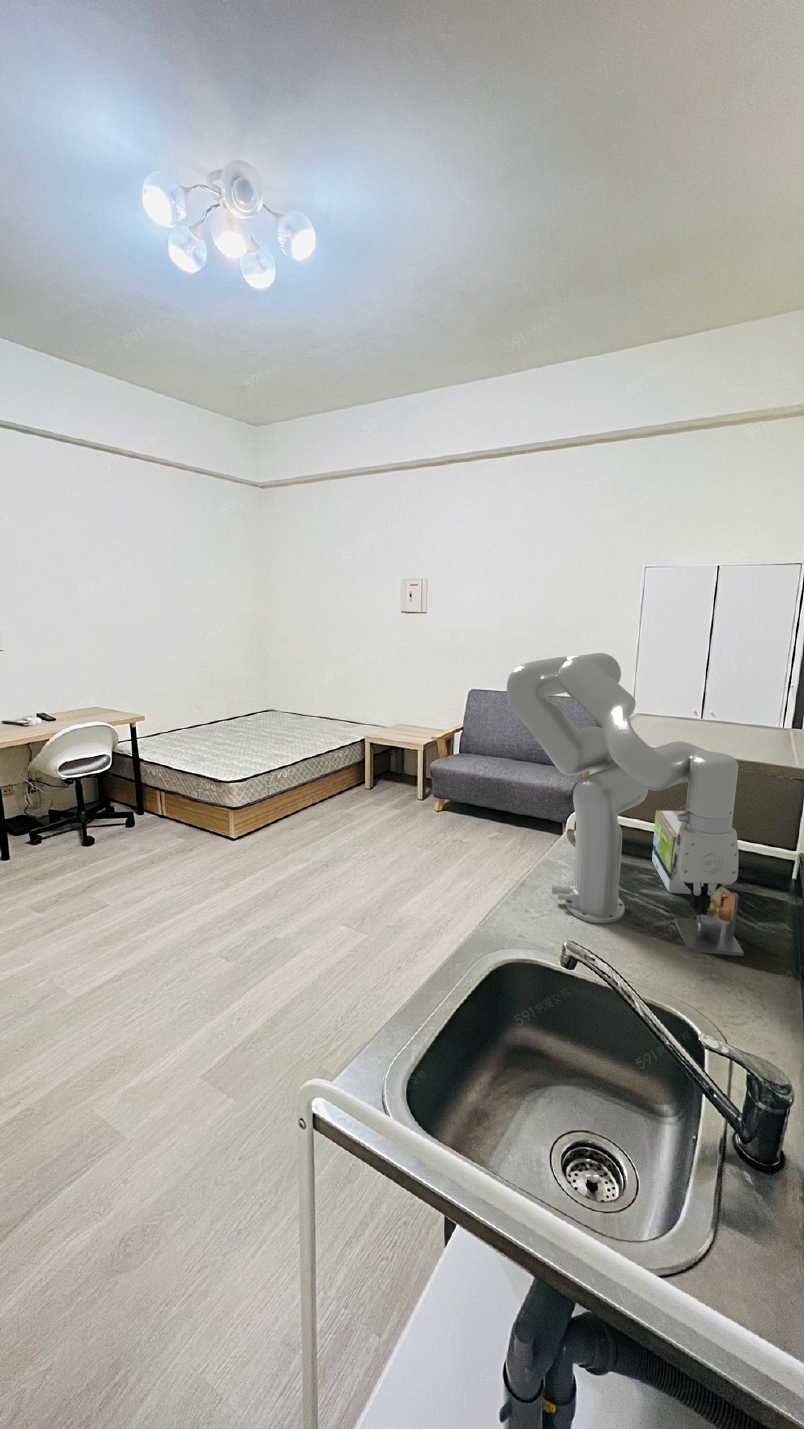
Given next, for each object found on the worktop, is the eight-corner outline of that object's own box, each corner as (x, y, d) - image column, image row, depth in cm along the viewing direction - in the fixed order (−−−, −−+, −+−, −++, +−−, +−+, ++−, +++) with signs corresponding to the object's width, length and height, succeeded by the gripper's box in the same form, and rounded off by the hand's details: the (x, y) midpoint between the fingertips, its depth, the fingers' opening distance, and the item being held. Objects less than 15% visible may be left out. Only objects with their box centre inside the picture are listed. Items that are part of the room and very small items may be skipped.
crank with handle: (687, 894, 120) (690, 865, 119) (724, 896, 119) (727, 867, 117) (705, 929, 109) (709, 897, 107) (746, 932, 107) (751, 900, 106)
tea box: (650, 862, 149) (654, 808, 145) (691, 863, 147) (697, 809, 144) (667, 893, 134) (673, 835, 131) (714, 896, 133) (721, 837, 129)
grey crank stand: (687, 951, 114) (692, 909, 112) (674, 921, 124) (678, 882, 122) (744, 956, 112) (750, 913, 110) (726, 925, 122) (731, 886, 120)
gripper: (672, 828, 102) (664, 921, 106) (762, 829, 100) (750, 923, 105) (658, 811, 109) (651, 899, 114) (742, 812, 108) (731, 901, 112)
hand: (699, 910), depth 109 cm, fingers closed
